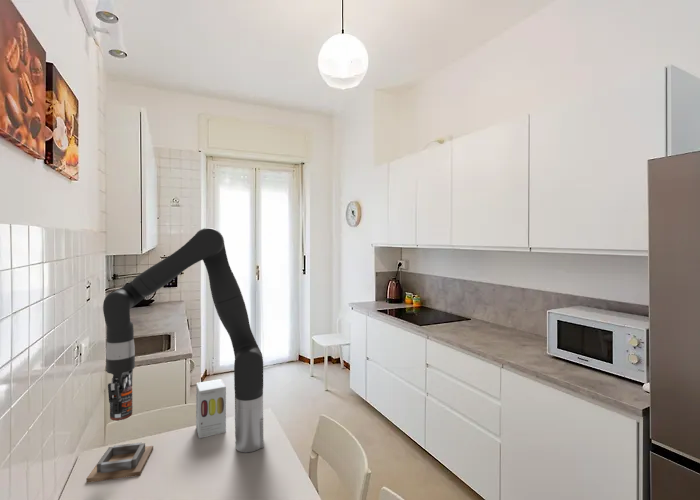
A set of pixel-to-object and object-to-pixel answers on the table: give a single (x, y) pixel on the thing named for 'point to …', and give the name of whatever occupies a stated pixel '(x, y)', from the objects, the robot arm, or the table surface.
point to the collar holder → (121, 462)
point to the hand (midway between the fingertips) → (121, 408)
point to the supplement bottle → (123, 405)
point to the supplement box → (210, 408)
